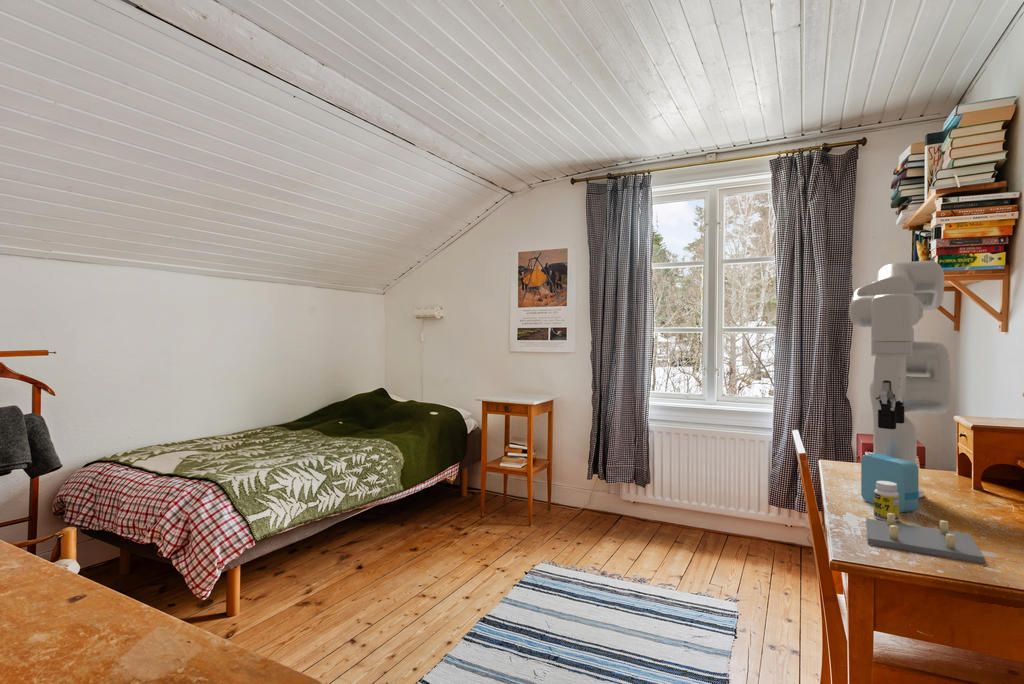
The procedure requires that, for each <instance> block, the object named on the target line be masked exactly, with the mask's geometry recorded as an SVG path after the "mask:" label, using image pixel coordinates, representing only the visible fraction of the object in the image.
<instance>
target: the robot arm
mask: <svg viewBox="0 0 1024 684" xmlns="http://www.w3.org/2000/svg"><path fill="white" fill-rule="evenodd" d="M944 291H945V272H944V270H943V267H942V265H940V263H938V262H937V261H934V260H918V261H917V260H916V261H902V262H893V263H889V264H885V265H884V266H882V267H881V268H880V269H879V270H878V272H877V273H876V276H875V281H873V282H870V283H868V284H865V285H863V286H860V287H859V288H857V289H856V290H855V291H854V292H853V294H852V296H851V301H850V303H849V309H848V314H849V320H850V322H851V323H852V325H854V326H856V327H859V328H871V332H870V333H871V337H870V338H871V343H870V344H871V346H870V347H871V351H870V352H871V354H870V355H871V356H872V357H875V359H874V365H873V366H874V367H873V379H872V381H871V382H870V384H869V385H870V386H869V397H870V402H871V403H870V404H871V407H872V419H873V420H872V421H873V454H882V455H886V456H890V457H895V458H899V459H903V460H907V461H911V462H914V463H915V464H916V465H917V438H918V437H917V428H916V426H915V424H914V422H913V421H911V419H909V418H908V416H906V415H905V413H921V414H944V413H946V412H948V411H949V409H950V408H951V405H952V386H951V385H952V383H951V380H952V379H951V364H950V362H951V361H950V354H949V351H948V349H947V347H946V346H945V345H944V344H942V343H941V342H937V341H915V329H914V327H913V326H916V325H917V324H918V323H919V322H920V320H922V318H923V317H924V311H933V310H936V309H938V308H939V307H940V306H941V305H942V303H943V301H944V295H945V294H944V293H945V292H944ZM924 496H925V493H924V490H923V489H921V488H919V487H918V499H920V498H923V497H924Z"/></svg>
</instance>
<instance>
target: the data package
mask: <svg viewBox="0 0 1024 684" xmlns="http://www.w3.org/2000/svg"><path fill="white" fill-rule="evenodd" d="M860 462H861V463H860V465H861V467H860V468H861V469H860V470H861V471H860V475H861V476H860V481H861V482H860V485H861V487H860V491H861V493H860V494H861V497H862V499H863V500H864V501H866V502H868V503H870V502H871V503H870V504H873V505H874V490H875V489H877V488H876V481H889V482H893V483H896V484H897V491H896V492H898V494H899V513H909V512H915V511H917V510H919V498H918V488H919V467H918V465H917V463H916V464H915V463H914V462H911V461H907V460H903V459H899V458H895V457H890V456H886V455H882V454H874V453H870V454H863V455H862V457H861V460H860Z"/></svg>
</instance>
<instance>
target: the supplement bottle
mask: <svg viewBox="0 0 1024 684" xmlns="http://www.w3.org/2000/svg"><path fill="white" fill-rule="evenodd" d="M876 488H877V489H875V490H874V504H873V517H874V518H875V519H876V520H880V521H886V522H887V513H893V514H895V523H897V522H898V521H900V518H899V517H900V512H899V494H898V492H896V491H897V484H896V483H893V482H889V481H876Z"/></svg>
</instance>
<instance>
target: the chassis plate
mask: <svg viewBox="0 0 1024 684" xmlns="http://www.w3.org/2000/svg"><path fill="white" fill-rule="evenodd" d="M865 524H866V525H865V526H866V539H867V541H868V542H867V545H871V544H872V545H873V546H877V547H884V548H890V549H896V550H901V551H907V552H913V553H919V554H924V555H926V554H927V555H932V556H937V557H943V558H949V559H955V560H960V561H966V562H972V563H977V564H978V563H979V564H984V562H985V561H984V555H983V554H982V552H981V550H980V549H979V547H978V545H977V543H976V542H975V540H974V539H973V536H972V535H971V534H970V533H967V532H960V531H954V530H949V521H947V520H944V519H941V520H939V528H933V527H927V526H921V525H911V524H908V523H907V524H905V523H900V522H898V523H897V522H895V514H893V513H887V521H883V520H879V519H872V518H866V519H865Z"/></svg>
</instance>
